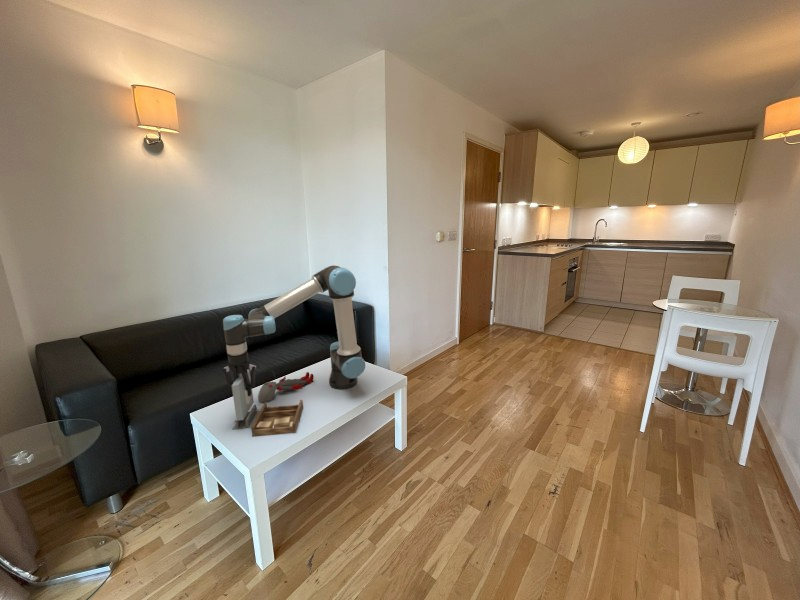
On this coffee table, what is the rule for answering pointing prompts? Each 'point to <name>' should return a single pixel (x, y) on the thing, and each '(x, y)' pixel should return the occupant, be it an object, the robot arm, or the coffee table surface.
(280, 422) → the offcut
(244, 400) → the grey flat slab
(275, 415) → the rack
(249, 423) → the stand
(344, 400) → the coffee table surface
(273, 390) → the toy
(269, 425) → the offcut
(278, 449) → the coffee table surface
